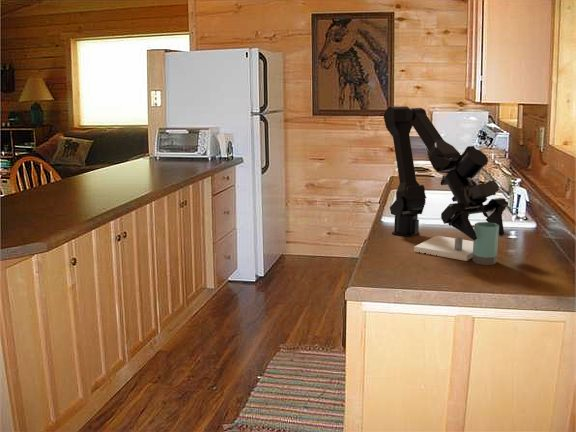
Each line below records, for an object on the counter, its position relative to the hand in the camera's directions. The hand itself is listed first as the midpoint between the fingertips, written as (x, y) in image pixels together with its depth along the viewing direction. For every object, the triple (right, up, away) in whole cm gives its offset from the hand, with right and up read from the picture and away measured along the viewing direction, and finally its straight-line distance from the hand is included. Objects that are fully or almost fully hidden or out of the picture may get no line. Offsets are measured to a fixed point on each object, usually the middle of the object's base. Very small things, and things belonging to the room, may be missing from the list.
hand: (489, 237), depth 159 cm
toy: (+7, +3, +45) cm, 45 cm away
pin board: (-6, -4, +14) cm, 16 cm away
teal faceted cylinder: (-1, -6, +3) cm, 7 cm away
